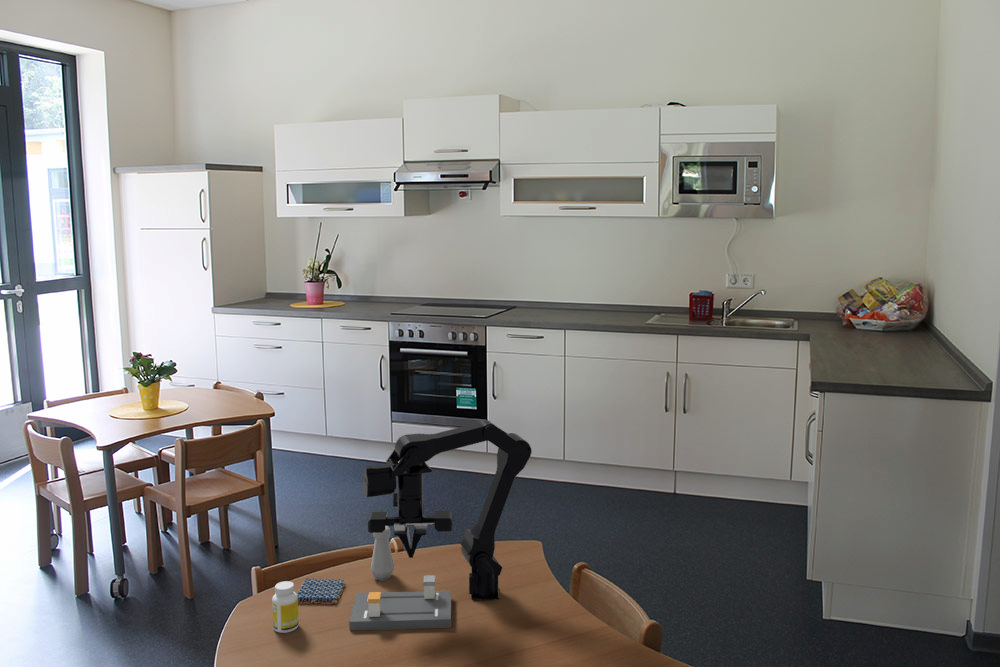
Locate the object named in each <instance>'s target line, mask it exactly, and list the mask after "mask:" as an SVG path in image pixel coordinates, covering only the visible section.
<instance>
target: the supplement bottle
mask: <svg viewBox="0 0 1000 667" xmlns="http://www.w3.org/2000/svg"><path fill="white" fill-rule="evenodd" d="M274 593H275V594H274V595H273V596H272V598H271V599H272V600H271V604H272V608H271V609H272V625H273V630H274V631H275V632H277V633H279V634H280V633H282V634H283V633H284V634H285V633H286V634H287V633H291V632H293V631H295V630H296V629H297V628H298V627H299V625H300V624H299V621H300V620H299V603H298V601H299V600H298V596H297V594H298V593H297V592H296V591H295V584H294V582H292V581H288V580H285V581H279V582H277V583H276V584H275V586H274Z"/></svg>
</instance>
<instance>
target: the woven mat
mask: <svg viewBox="0 0 1000 667" xmlns="http://www.w3.org/2000/svg"><path fill="white" fill-rule="evenodd" d="M345 583H346V582H345V581H344V579H340V578H338V580H337V579H334V578H332V579H328V578H325V579H322V578H319V579H316V578H309V579H308V577H306V578H305V579H304V580H303V581H302V584H301V585H300V588H299V589H298V592H297V593H296V594H297V596H298V604H317V603H322V604H323V603H324V604H325V603H326V605H329V604H331V605H335V604H338V600H339V599H340V598H341V597H340V595H343V594H342V593H343V590H344V589H343V588H345V587H346V585H345ZM301 600H302V601H301ZM304 600H306V601H304ZM308 600H309V601H308ZM318 600H319V601H318ZM324 604H323V605H324Z"/></svg>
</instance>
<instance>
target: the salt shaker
mask: <svg viewBox="0 0 1000 667" xmlns="http://www.w3.org/2000/svg"><path fill="white" fill-rule="evenodd" d="M372 536H373V538H374V544H373V550H372V552H373V553H372V557H371V564H370V572H371V574H372V576H373V577H374V578H375V580H376V581H381V582H383V581H386V580H389V579H390V577H392V575H393V572H394V570H395V564H394V558H393V554H392V550H391V545H390V539H389V537H390V536H391V527H390V526H386V529H385V530H384V531H383V532H382V533H372Z"/></svg>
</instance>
